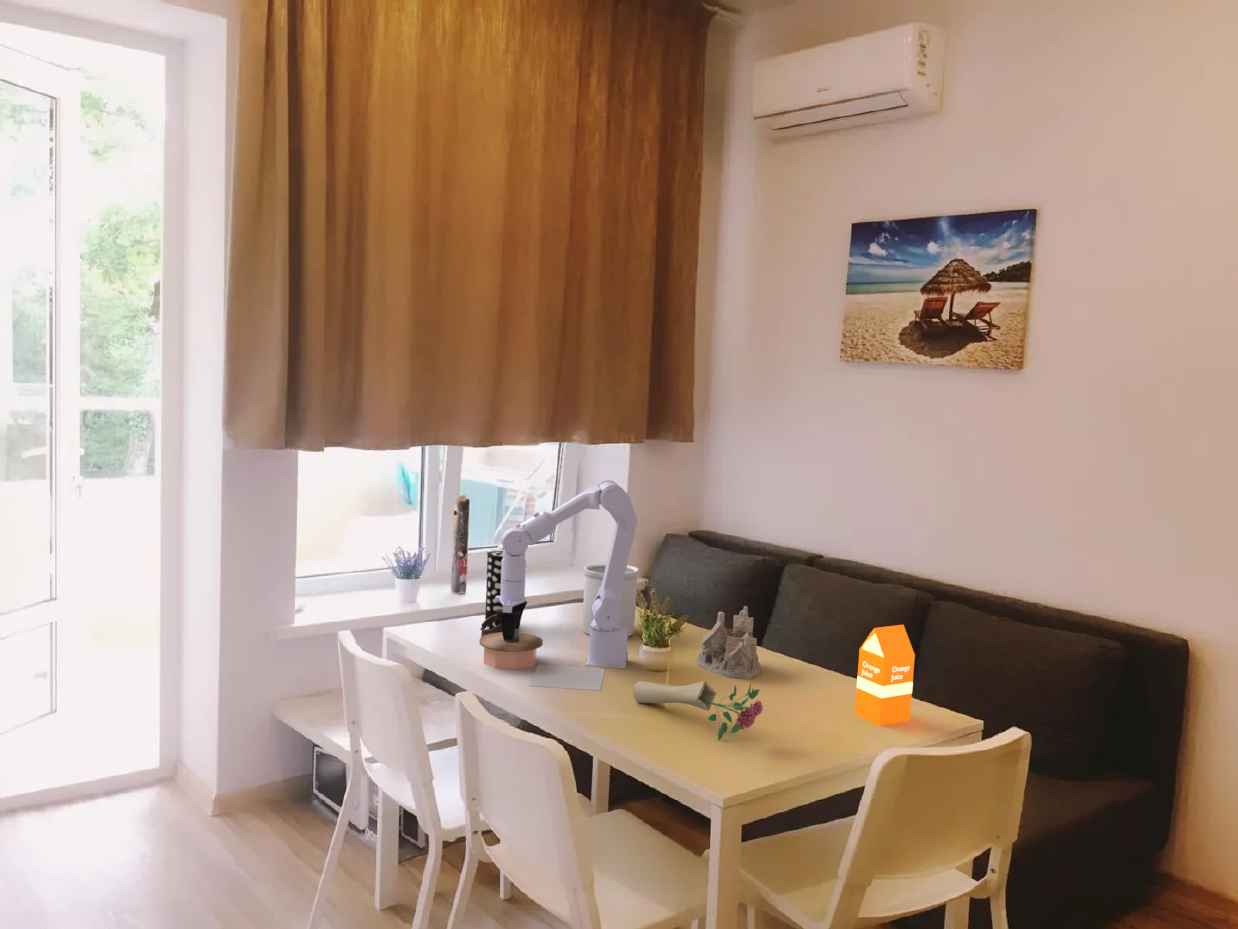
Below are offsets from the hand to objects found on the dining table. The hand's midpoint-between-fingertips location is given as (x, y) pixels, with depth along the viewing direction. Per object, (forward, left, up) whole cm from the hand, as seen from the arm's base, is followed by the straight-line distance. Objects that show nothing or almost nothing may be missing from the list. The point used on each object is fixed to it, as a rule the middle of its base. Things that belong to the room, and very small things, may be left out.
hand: (511, 635), depth 249 cm
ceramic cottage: (-52, -8, -7) cm, 53 cm away
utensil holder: (-21, -34, -7) cm, 41 cm away
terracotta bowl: (0, 0, -7) cm, 7 cm away
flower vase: (-44, +34, -7) cm, 56 cm away
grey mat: (-15, +9, -7) cm, 19 cm away
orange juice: (-84, +21, -7) cm, 87 cm away
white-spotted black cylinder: (+8, -32, -7) cm, 34 cm away
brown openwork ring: (+6, -18, -7) cm, 21 cm away
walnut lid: (0, 0, -2) cm, 2 cm away
